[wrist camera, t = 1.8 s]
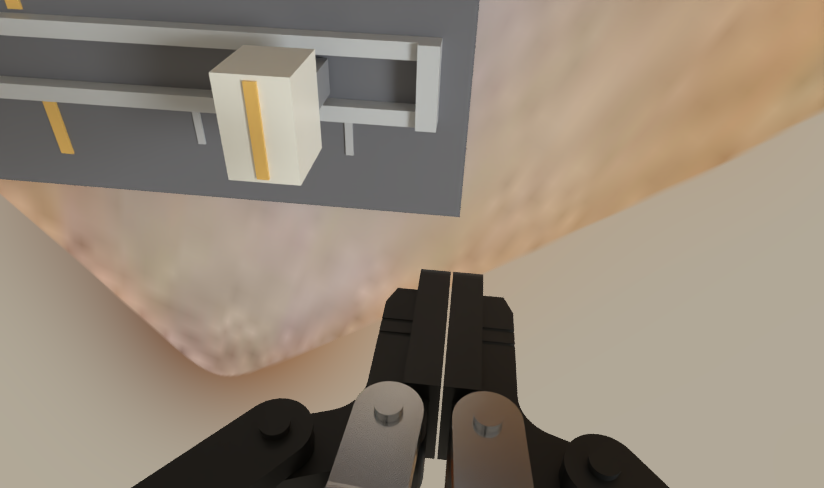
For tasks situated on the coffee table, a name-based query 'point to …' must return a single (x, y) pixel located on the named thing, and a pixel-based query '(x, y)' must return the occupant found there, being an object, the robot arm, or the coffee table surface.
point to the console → (194, 105)
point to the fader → (270, 112)
